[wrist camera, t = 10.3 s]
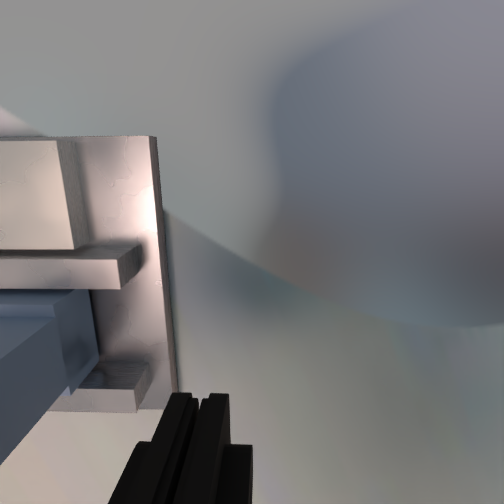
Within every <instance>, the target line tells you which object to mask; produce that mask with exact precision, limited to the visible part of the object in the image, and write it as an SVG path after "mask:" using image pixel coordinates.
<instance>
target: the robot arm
mask: <svg viewBox="0 0 504 504" xmlns="http://www.w3.org/2000/svg"><path fill="white" fill-rule="evenodd" d="M252 487H253V447H252V445H240V444H231V439H230V406H229V394H222V393H210V395H209V398H203V399H202V402H201V405H200V409H199V402H198V398H192V393H181V392H173V393H172V394H171V396H170V398H169V400H168V403H167V405H166V407H165V410H164V412H163V414H162V417H161V419H160V421H159V424H158V426H157V428H156V431H155V433H154V435H153V438H152V440H151V442H147V441H139V442H138V443H137V445H136V446H135V448H134V450H133V452H132V454H131V456H130V458H129V460H128V462H127V465H126V467H125V469H124V471H123V473H122V475H121V477H120V479H119V481H118V483H117V486H116V488H115V490H114V492H113V494H112V496H111V498H110V500H109V502H108V504H252Z"/></svg>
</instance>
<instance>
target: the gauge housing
mask: <svg viewBox="0 0 504 504" xmlns="http://www.w3.org/2000/svg"><path fill="white" fill-rule="evenodd" d="M156 139H157V138H156V137H153V136H96V137H95V136H88V137H86V136H85V137H6V138H0V289H88V292H89V298H90V304H91V310H92V317H93V323H94V329H95V335H96V342H97V348H98V354H99V362H98V363H97V364H96V365H95V367H94V368H93V369H92V370H91V372H90V373H89V374H88V375H87V377H86V378H85V379H84V380H83V381H82V383H81V384H80V385H79V386H78V388H77V389H76V390H75V391H74V393H73V394H72V395H71V396H59V397H58V398H57V400H56V401H55V402H54V403H53V404H52V405H51V407H50V408H49V409H48V410H47V411H63V412H113V413H137V411H138V409H165V407H166V405H167V403H168V400H169V398H170V396H171V394H172V393H173V392H178V383H177V371H176V360H175V348H174V336H173V325H172V313H171V301H170V290H169V278H168V266H167V255H166V243H165V231H164V220H163V208H162V196H161V184H160V174H159V162H158V151H157V140H156Z"/></svg>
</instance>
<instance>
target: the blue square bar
mask: <svg viewBox="0 0 504 504" xmlns="http://www.w3.org/2000/svg"><path fill="white" fill-rule="evenodd" d="M98 362H99V354H98V348H97V342H96V335H95V329H94V323H93V317H92V310H91V304H90V298H89V292H88V289H0V465H1V464H2V463H3V462H4V460H5V459H6V458H7V457H8V456H9V455H10V453H11V452H12V451H13V450H14V449H15V448H16V446H17V445H18V444H19V443H20V442H21V441H22V439H23V438H24V437H25V436H26V435H27V434H28V432H29V431H30V430H31V429H32V428H33V426H34V425H35V424H36V423H37V422H38V421H39V419H40V418H41V417H42V416H43V415H44V414H45V412H46V411H47V410H48V409H49V408H50V407H51V405H52V404H53V403H54V402H55V401H56V400H57V398H58V397H59V396H71V395H72V394H73V393H74V391H75V390H76V389H77V388H78V386H79V385H80V384H81V383H82V381H83V380H84V379H85V378H86V377H87V375H88V374H89V373H90V372H91V370H92V369H93V368H94V367H95V365H96V364H97V363H98Z"/></svg>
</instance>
